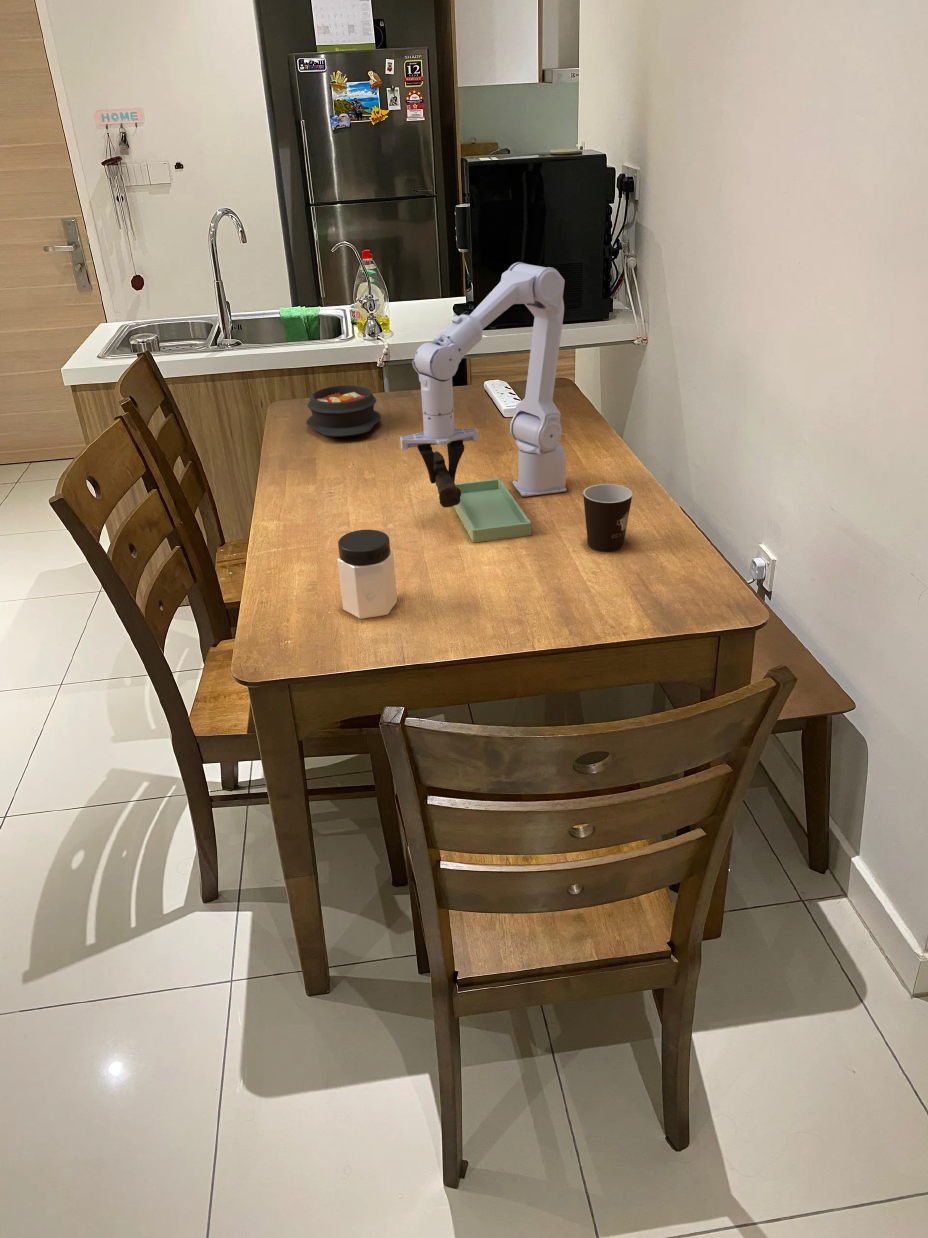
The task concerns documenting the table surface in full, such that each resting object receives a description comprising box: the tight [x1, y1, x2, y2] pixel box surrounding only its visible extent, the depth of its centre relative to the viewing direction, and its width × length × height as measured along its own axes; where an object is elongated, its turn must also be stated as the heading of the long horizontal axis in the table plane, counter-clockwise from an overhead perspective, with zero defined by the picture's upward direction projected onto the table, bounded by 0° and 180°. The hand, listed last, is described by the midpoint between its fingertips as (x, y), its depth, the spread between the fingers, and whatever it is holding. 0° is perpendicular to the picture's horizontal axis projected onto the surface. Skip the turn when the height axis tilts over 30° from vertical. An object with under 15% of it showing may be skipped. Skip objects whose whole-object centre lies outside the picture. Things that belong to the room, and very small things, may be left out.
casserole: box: [306, 385, 382, 438], centre depth 231 cm, size 25×19×8 cm
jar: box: [336, 529, 398, 620], centre depth 150 cm, size 9×8×12 cm
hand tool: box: [433, 451, 461, 508], centre depth 177 cm, size 19×4×5 cm, turn 8°
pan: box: [452, 478, 532, 543], centre depth 182 cm, size 11×23×2 cm, turn 13°
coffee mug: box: [582, 483, 633, 553], centre depth 168 cm, size 12×9×10 cm
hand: (442, 480), depth 177 cm, fingers closed on hand tool, 3 cm apart
